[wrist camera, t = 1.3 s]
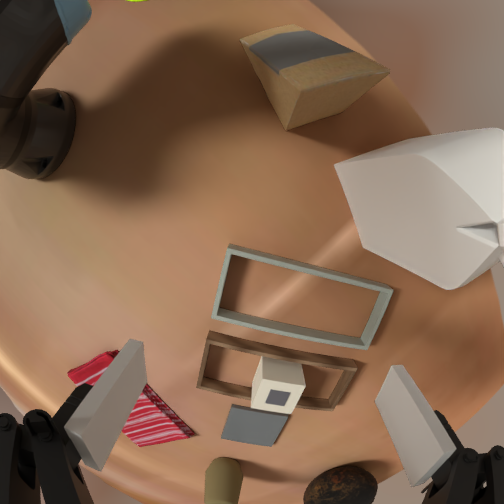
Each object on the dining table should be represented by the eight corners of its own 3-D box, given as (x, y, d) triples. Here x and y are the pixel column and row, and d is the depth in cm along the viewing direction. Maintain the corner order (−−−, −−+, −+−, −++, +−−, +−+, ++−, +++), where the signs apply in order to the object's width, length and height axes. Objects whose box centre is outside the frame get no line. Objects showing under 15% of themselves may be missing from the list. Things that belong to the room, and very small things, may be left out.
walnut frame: (199, 378, 40) (196, 387, 38) (209, 330, 38) (206, 339, 35) (330, 401, 41) (332, 411, 38) (353, 359, 38) (357, 368, 36)
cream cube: (252, 382, 40) (250, 408, 34) (262, 353, 39) (262, 379, 33) (288, 388, 40) (291, 414, 34) (300, 360, 39) (305, 386, 33)
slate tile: (221, 435, 44) (220, 438, 43) (232, 404, 41) (231, 407, 40) (271, 443, 44) (271, 446, 43) (288, 413, 42) (288, 416, 41)
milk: (407, 139, 31) (564, 109, 5) (431, 216, 33) (580, 265, 8) (333, 164, 32) (488, 130, 7) (362, 247, 34) (503, 352, 9)
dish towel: (116, 343, 40) (109, 351, 37) (197, 431, 44) (195, 441, 42) (68, 367, 42) (61, 374, 40) (140, 442, 47) (137, 450, 44)
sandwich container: (294, 22, 27) (309, -45, 13) (344, 112, 30) (394, 71, 16) (237, 39, 28) (224, -30, 14) (283, 132, 31) (299, 93, 17)
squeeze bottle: (231, 451, 45) (223, 522, 27) (251, 467, 46) (247, 532, 29) (200, 457, 46) (186, 522, 29) (220, 473, 48) (212, 533, 30)
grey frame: (213, 310, 37) (211, 318, 35) (229, 243, 35) (227, 247, 32) (362, 341, 38) (367, 350, 35) (386, 284, 35) (393, 290, 33)
